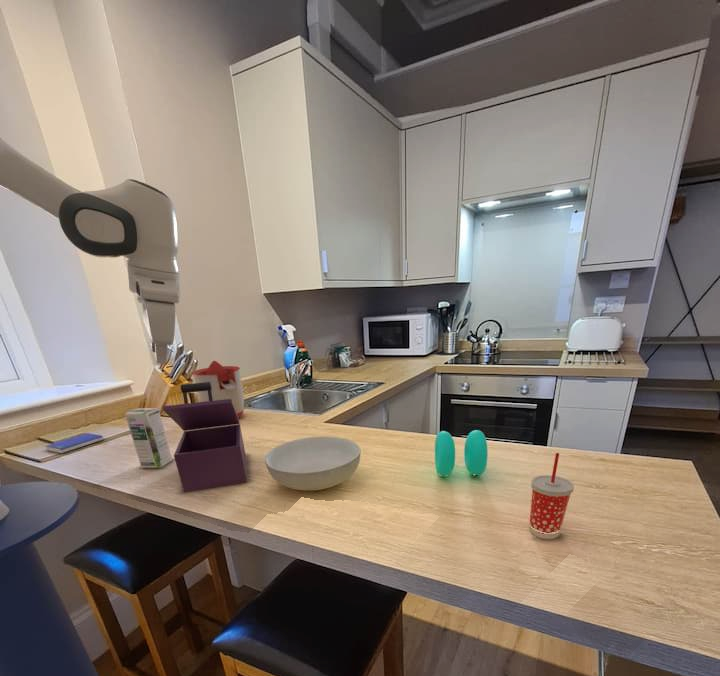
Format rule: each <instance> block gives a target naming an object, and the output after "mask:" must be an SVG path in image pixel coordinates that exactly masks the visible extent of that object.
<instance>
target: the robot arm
mask: <svg viewBox="0 0 720 676" xmlns="http://www.w3.org/2000/svg"><path fill="white" fill-rule="evenodd" d="M0 187H1V188H3V189H5V190H7V191H9V192H11V193H13V194H15V195H17V196H18V197H20V198H22V199H23V200H25V201H27V202H28V203H30V204H31V205H34V206H35V207H37V208H39V209H40V210H42V211H43V212H45V213H47V214H48V215H51V216H53V217H54V218H55V219H57V220H59V225H60V228H61V230H62V232H63V234H64V235H65V237H66V238H67V239H68V241H69V242H70V243H71V244H72V245H73V246H74V247H76V248H77V249H79V250H80V251H82V252H83V253H86V254H87V255H89V256H92V257H97V258H119V257H124V258H125V260H126V265H127V275H128V291H129V292H131V293H133V294H134V295H136V297H137V302H138V303H139V304H141V308H142V310H141V311H142V320H143V325H144V327H145V329H146V332H147V333H148V335H149V341H150V350H151V351H152V353H155V361H156V363H157V364H159V365H166V364H167V352H168V346H172V345H173V344H174V340H175V334H176V333H175V332H176V331H175V330H176V314H177V313H176V310H177V309H176V304H179V303H180V298H181V290H180V288H181V287H180V269H179V266H178V261H177V259H178V257H177V256H178V251H179V230H178V220H177V219H178V217H177V212H176V208H175V205H174V203H173V202H172V200H171V199H170V197H169V196H168V195H166V193H164V192H163V191H162V190H159V189H158V188H156V187H154V186H151V185H149V184H148V183H145V182H142V181H139V180H137V179H132V178H130V179H129V178H128V179H125V180H124V181H123V182H121V183H120V184H117V185H114V186H111V187H108V188H104V189H98V190H89V191H87V190H86V191H81V190H79V189H76V188H74V187H73V186H71V185H69V184H68V183H66V182H64V181H63V180H62V179H60V178H58V177H57V176H55V175H54V174H52V173H51V172H49V170H48V171H47V170H46V169H45V168H44V167H42V166H41V165H38V164H37V163H35V162H34V161H33V160H31V159H30V158H28V157H26V156H25V155H23V154H22V153H21V152H19V151H18V150H16V149H15V148H14V147H12V146H11V144H9V143H7V141H5V140H4V139H2V137H0ZM8 513H9V508H8V507H7V506H6V505H5V504H4V503H3V502H2V501H1V500H0V520H2V519H3V518H4V517H5V516H6V515H7V514H8Z"/></svg>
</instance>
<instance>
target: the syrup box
mask: <svg viewBox="0 0 720 676" xmlns="http://www.w3.org/2000/svg"><path fill="white" fill-rule="evenodd" d="M124 417H125V420H126V423H127V426H128V429H129V432H130V435H131V438H132V441H133V444H134V448H135V452H136V454H137V459H138V461H139V464H140V468H141V469H145V468H147V469H161V468H163V467H164V466H166V465H168V464H169V463H170V462H171V461H173V457H172V452H171V448H170V446H169V441H168V438H167V434H166V431H165V427H164V424H163V423H164V422H163V418H162V415H161V412H160V409H159V407H146V408H145V407H144V408H142V407H138V408H134V409H131V410H129V411H127V412H126V413H124Z"/></svg>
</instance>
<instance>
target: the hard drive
mask: <svg viewBox="0 0 720 676" xmlns="http://www.w3.org/2000/svg"><path fill="white" fill-rule="evenodd" d="M103 440H104V437H103V435H101V434H95V433H90V432H87V433H84V434H80V435H77V436H74V437H70V438H67V439H64V440H60V441H56V442H53V443H50V444H47V445H45V448H46V450H47V451H48V452H49V451H50V452H54V453H59V454H64V453H67V452H70V451H73V450H76V449H79V448H82V447H85V446H88V445H91V444H94V443H97V442H100V441H103Z"/></svg>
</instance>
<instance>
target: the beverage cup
mask: <svg viewBox="0 0 720 676" xmlns="http://www.w3.org/2000/svg"><path fill="white" fill-rule="evenodd" d="M559 458H560V452H555V457H554V460H553V461H554V462H553V468H552V473H551V475H550V474H543V475H537V476H534V477H533V478H532V479H531V484H530V487H531V499H530V500H531V502H530V515H529V526H528V528H529V529H528V531H529V533H531V535H533V536H534V537H537V538H540V539H542V540H543V539H544V540H554V539H556V538H558V537H559V536H560V533H561V530H562V526H563V522H564V518H565V515H566V512H567V508H568V504H569V501H570V498H571V494H573V492H574V489H575V485H574V483H573V482H572V481H571V480H569V479H567V478H564V477H561V476H558V475H557V468H558V465H559V464H558V463H559ZM530 525H531V526H532V527H533V528H535V529H537V530H539V531H542V532H546V533H552V532H557V531H559V530H560V529H561V530H560V531H559V532H558V533H555V534H544V533H540V532H537V531H535V530H533V529H532V528H531V527H530Z"/></svg>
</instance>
